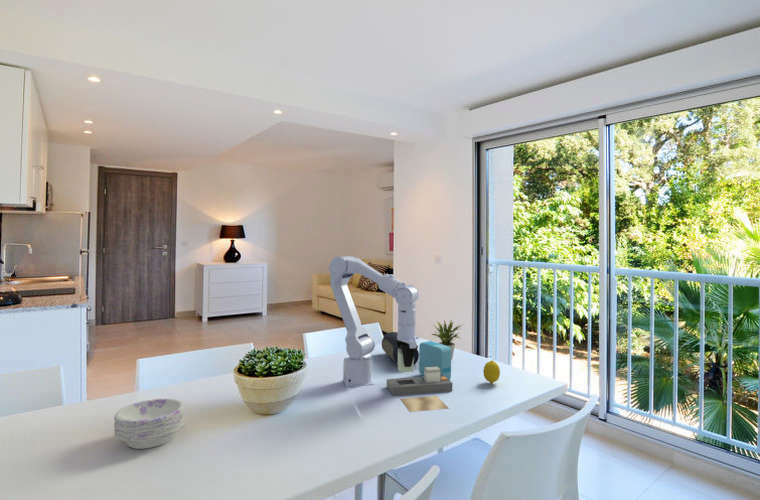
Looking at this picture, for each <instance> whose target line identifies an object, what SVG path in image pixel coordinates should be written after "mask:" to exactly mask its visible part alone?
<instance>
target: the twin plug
mask: <svg viewBox="0 0 760 500" xmlns="http://www.w3.org/2000/svg"><path fill="white" fill-rule="evenodd" d="M423 377H424V381H425V382H426V383H430V382H440V369H439V368H438V367H424V376H423Z"/></svg>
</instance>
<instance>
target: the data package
mask: <svg viewBox="0 0 760 500" xmlns="http://www.w3.org/2000/svg"><path fill="white" fill-rule="evenodd" d="M418 352H419V359H418V371H419V374H420V375H421V377H424V367H438V368H439V369H440V375H444V376H445V377H446V378H447V379H448V380H450V381H451V378H452V360H451V349H450V347H449V346H446V345H442V344H439V342H435V341H432V340H429V341H424V342H420V343H419V346H418Z"/></svg>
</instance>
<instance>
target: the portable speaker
mask: <svg viewBox="0 0 760 500" xmlns="http://www.w3.org/2000/svg"><path fill="white" fill-rule="evenodd" d="M397 336H398V331H390V332H388V333H386V334H385V335H384V336H383V337H382V340H381V348H382V351H383V352H384V353H385V354H386V355H387V356H388V357H389V358H391V360H392V361H393V362H394V363H395V364H396V365H398V347H397V345H396V341H400V340H398V339H397ZM418 362H419V349H417V350H416V352H415V354H414V366H415V365H416V364H417V363H418Z"/></svg>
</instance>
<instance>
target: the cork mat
mask: <svg viewBox="0 0 760 500" xmlns="http://www.w3.org/2000/svg"><path fill="white" fill-rule="evenodd" d="M400 402H402V403H403V406H405V408H406V409H407V411H409V412H410V413H413V412H424V411H435V410H437V411H438V410H448V409H450V408H449V406H447V405H446V404H445V402H443V400H442V399H441V398H440V397H439V396H437V395H431V396H418V397H408V398H407V397H406V398H400Z"/></svg>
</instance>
